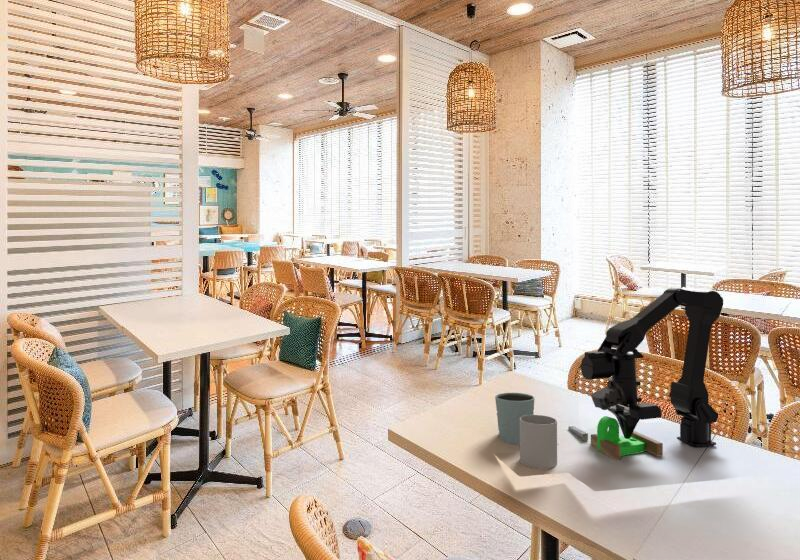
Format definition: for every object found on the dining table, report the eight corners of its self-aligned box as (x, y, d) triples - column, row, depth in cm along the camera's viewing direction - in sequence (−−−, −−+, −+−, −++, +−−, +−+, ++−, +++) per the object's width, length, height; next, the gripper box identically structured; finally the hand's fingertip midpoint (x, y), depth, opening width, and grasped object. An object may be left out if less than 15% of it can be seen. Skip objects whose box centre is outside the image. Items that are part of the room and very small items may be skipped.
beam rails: (635, 442, 130) (635, 431, 130) (662, 455, 120) (662, 443, 120) (590, 446, 127) (590, 434, 127) (615, 459, 118) (614, 446, 118)
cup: (557, 458, 119) (557, 416, 119) (556, 470, 111) (556, 426, 111) (521, 454, 121) (521, 413, 122) (518, 466, 114) (518, 422, 114)
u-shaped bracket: (572, 434, 137) (572, 425, 137) (589, 444, 129) (589, 434, 129) (532, 437, 134) (532, 428, 134) (546, 447, 127) (546, 437, 127)
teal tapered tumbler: (539, 448, 126) (538, 400, 126) (499, 448, 126) (499, 400, 126) (529, 435, 136) (529, 392, 136) (492, 435, 136) (492, 392, 136)
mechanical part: (617, 456, 119) (617, 423, 119) (596, 449, 124) (597, 417, 124) (650, 450, 124) (650, 418, 124) (629, 443, 130) (630, 412, 130)
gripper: (574, 373, 133) (577, 431, 132) (619, 386, 114) (623, 454, 114) (611, 369, 135) (614, 427, 135) (661, 382, 117) (665, 448, 116)
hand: (627, 438), depth 125 cm, fingers closed
